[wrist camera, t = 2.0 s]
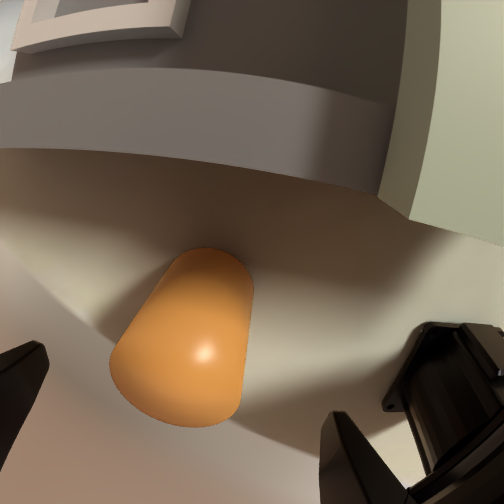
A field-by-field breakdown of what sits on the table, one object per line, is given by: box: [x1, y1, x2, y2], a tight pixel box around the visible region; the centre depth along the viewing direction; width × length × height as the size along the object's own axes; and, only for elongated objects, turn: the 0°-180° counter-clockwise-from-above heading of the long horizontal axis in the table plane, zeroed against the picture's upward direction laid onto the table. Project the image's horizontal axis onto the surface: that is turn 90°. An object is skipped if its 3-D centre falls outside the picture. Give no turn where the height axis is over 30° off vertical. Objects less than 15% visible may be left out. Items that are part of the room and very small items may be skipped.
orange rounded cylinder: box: [109, 248, 254, 427], centre depth 11 cm, size 4×4×6 cm
